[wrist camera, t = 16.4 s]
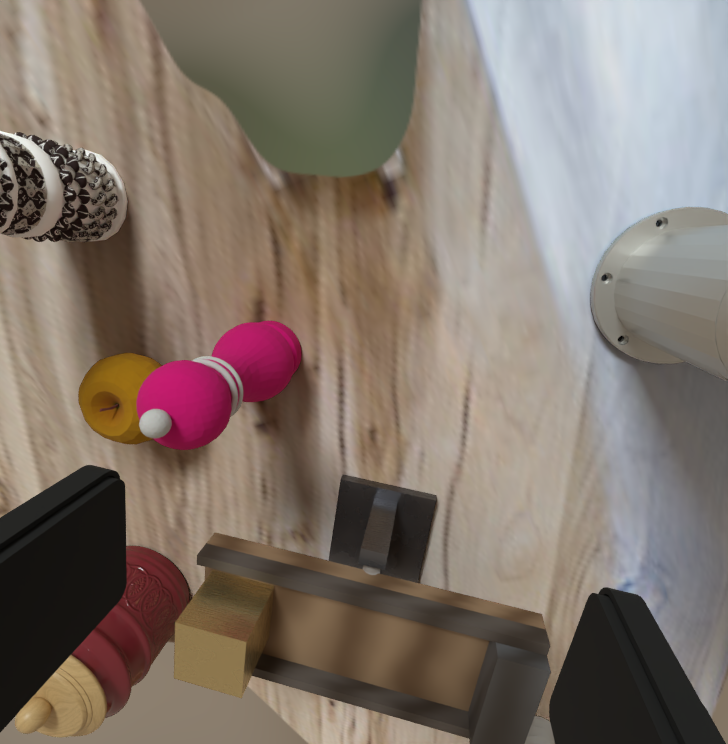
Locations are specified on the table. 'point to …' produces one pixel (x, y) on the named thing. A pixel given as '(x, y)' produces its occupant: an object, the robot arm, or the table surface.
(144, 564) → the canister
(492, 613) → the beam
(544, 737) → the chalice
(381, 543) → the stand
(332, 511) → the table surface
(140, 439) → the apple
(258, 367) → the pepper mill
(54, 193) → the decorative candle
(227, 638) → the block
